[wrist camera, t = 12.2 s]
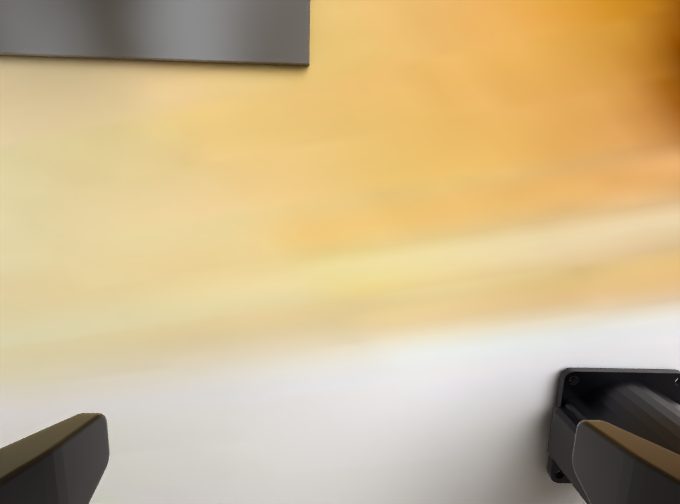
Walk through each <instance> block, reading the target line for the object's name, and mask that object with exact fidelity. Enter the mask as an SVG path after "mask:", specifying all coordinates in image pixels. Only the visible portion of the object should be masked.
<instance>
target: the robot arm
mask: <svg viewBox="0 0 680 504" xmlns="http://www.w3.org/2000/svg"><path fill="white" fill-rule="evenodd" d="M572 376H574V379H573V380H572V381H569V379H570V378H571V377H572ZM677 378H678V380H677V381H676V382H675V380H676V379H677ZM674 382H675V383H674ZM548 453H549V458H548V465H547V473H548V475H549V476H550V478H551V479H552V481H554V482H556V483H572V484H573V486H574V487H575V488H576V490H577V491H578V492H579V494H580V495H581V496H582V498H583V499H584V500H585V502H586V503H587V504H680V371H679V370H669V369H613V368H567V369H565V370H564V371H563V372H562V373H561V375H560V380H559V387H558V394H557V401H556V407H555V409H554V411H553V415H552V422H551V429H550V436H549V443H548ZM108 460H109V441H108V430H107V421H106V418H105V416H104V415H103V414H100V413H81V414H77V415H75V416H73V417H71V418H68V419H66V420H64V421H62V422H59V423H57V424H55V425H53V426H50V427H48V428H46V429H44V430H41V431H39V432H37V433H35V434H32V435H30V436H28V437H26V438H23V439H21V440H19V441H17V442H14V443H12V444H10V445H8V446H5V447H3V448H1V449H0V504H89V502H90V500H91V498H92V496H93V494H94V492H95V489H96V487H97V485H98V483H99V481H100V479H101V477H102V475H103V473H104V471H105V469H106V467H107V464H108ZM557 471H560V472H559V473H556V472H557Z"/></svg>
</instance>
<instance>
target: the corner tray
mask: <svg viewBox="0 0 680 504" xmlns="http://www.w3.org/2000/svg"><path fill="white" fill-rule="evenodd" d="M309 36H310V0H0V55H19V56H47V57H76V58H105V59H133V60H162V61H190V62H219V63H247V64H276V65H305V66H309Z"/></svg>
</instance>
